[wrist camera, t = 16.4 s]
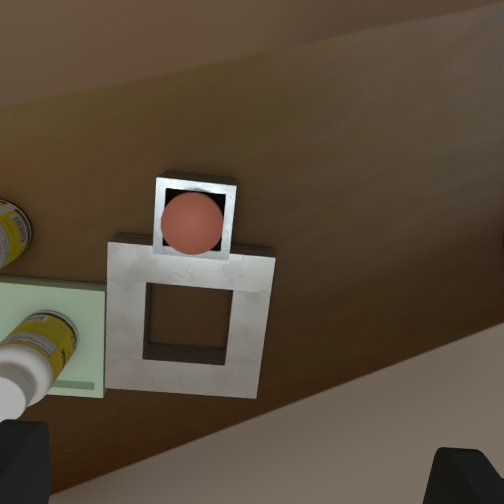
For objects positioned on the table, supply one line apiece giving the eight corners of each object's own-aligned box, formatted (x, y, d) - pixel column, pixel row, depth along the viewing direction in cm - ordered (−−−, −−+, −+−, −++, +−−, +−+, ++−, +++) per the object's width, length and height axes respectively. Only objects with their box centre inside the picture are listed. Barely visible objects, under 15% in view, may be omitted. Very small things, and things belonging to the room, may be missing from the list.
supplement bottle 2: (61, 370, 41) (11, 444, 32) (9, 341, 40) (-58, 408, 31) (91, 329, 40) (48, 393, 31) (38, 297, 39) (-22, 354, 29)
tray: (110, 284, 39) (104, 291, 38) (108, 386, 43) (102, 397, 41) (-14, 273, 39) (-25, 280, 37) (-7, 378, 42) (-17, 389, 40)
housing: (281, 182, 37) (288, 191, 33) (254, 380, 43) (257, 412, 38) (118, 164, 36) (102, 171, 32) (113, 369, 42) (98, 401, 37)
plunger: (226, 186, 36) (226, 197, 31) (221, 238, 37) (220, 257, 32) (172, 180, 36) (162, 190, 31) (168, 233, 37) (158, 252, 32)
